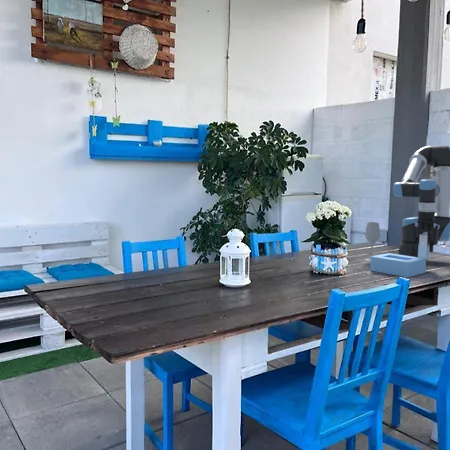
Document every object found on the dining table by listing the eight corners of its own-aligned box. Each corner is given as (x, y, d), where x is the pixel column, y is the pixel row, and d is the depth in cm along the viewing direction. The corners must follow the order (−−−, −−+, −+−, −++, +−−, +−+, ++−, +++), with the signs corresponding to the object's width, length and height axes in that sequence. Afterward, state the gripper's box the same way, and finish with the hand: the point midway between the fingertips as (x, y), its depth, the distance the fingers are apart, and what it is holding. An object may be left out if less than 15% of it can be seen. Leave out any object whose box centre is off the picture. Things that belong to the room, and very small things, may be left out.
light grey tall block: (422, 257, 237) (423, 231, 235) (430, 258, 234) (431, 232, 232) (418, 258, 234) (419, 232, 232) (426, 259, 231) (427, 233, 229)
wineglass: (380, 261, 255) (382, 223, 253) (366, 261, 255) (367, 223, 253) (376, 259, 263) (377, 222, 260) (362, 259, 263) (364, 222, 261)
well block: (388, 266, 242) (388, 253, 242) (425, 272, 227) (426, 258, 226) (370, 270, 232) (370, 256, 231) (407, 277, 217) (408, 262, 216)
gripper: (406, 210, 235) (404, 256, 238) (440, 212, 222) (437, 261, 225) (414, 209, 240) (412, 254, 243) (447, 211, 227) (445, 259, 230)
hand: (424, 257), depth 234 cm, fingers closed on light grey tall block, 4 cm apart
